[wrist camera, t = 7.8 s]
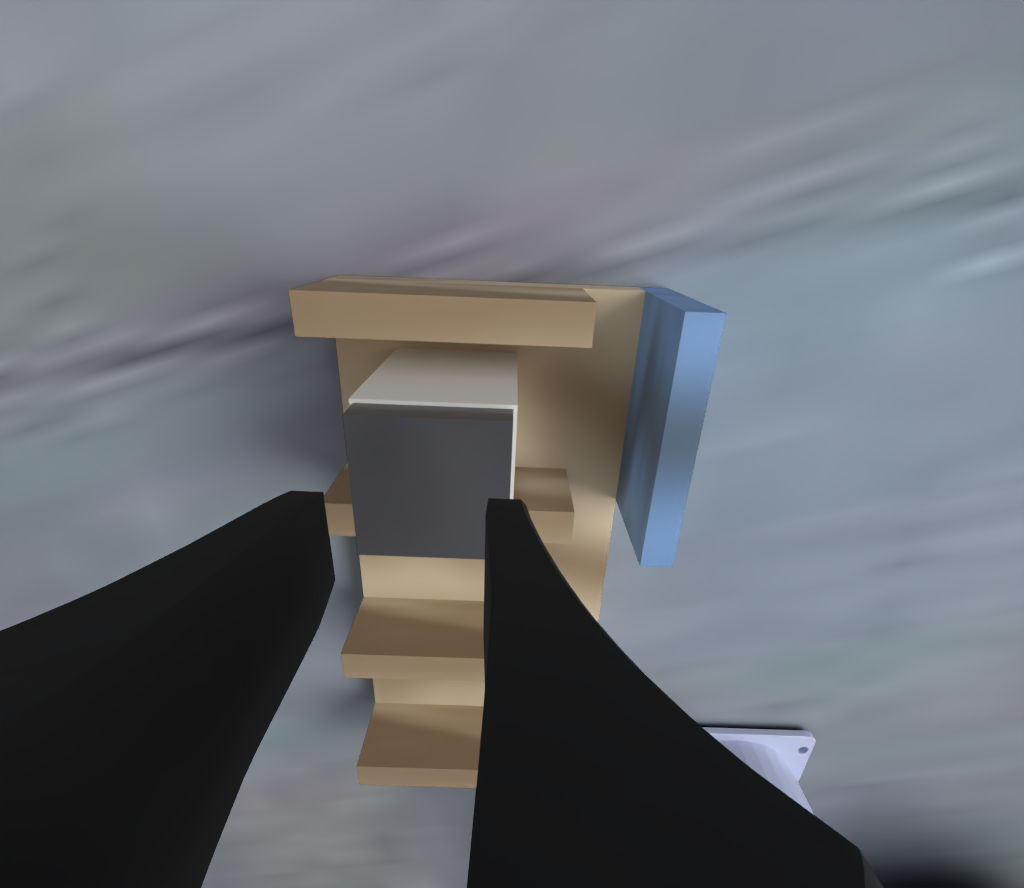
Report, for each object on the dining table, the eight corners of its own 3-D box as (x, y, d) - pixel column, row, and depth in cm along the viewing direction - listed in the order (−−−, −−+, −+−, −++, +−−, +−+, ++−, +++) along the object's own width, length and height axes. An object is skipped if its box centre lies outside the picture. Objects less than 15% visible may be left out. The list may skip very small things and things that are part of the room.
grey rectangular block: (512, 460, 18) (510, 563, 13) (403, 456, 18) (353, 557, 12) (517, 352, 16) (517, 417, 11) (396, 347, 16) (337, 410, 11)
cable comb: (600, 708, 25) (619, 817, 20) (382, 701, 25) (352, 809, 20) (668, 288, 16) (726, 313, 12) (339, 275, 16) (270, 295, 12)
